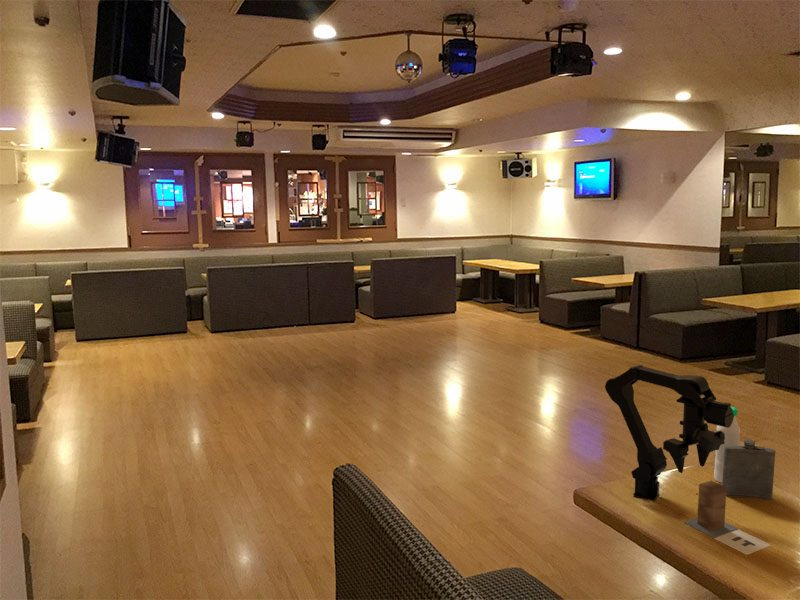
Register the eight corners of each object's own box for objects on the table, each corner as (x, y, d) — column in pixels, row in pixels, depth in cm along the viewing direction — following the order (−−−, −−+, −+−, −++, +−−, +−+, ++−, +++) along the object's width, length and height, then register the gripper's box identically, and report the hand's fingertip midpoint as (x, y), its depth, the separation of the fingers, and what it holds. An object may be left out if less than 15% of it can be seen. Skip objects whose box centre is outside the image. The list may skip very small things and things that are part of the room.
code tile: (713, 539, 183) (713, 537, 183) (737, 530, 188) (737, 528, 187) (746, 556, 174) (746, 554, 174) (771, 546, 179) (771, 544, 179)
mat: (683, 524, 192) (683, 522, 192) (707, 515, 196) (707, 513, 196) (714, 539, 183) (714, 537, 183) (738, 530, 187) (738, 528, 187)
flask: (720, 491, 212) (723, 437, 209) (769, 495, 208) (773, 440, 206) (722, 496, 209) (725, 441, 206) (773, 500, 205) (777, 444, 202)
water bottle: (740, 479, 220) (744, 407, 216) (733, 486, 215) (737, 412, 211) (717, 474, 225) (721, 403, 221) (710, 480, 220) (714, 408, 216)
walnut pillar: (697, 523, 191) (699, 484, 189) (709, 519, 193) (711, 480, 191) (712, 531, 186) (714, 490, 184) (724, 526, 188) (726, 487, 187)
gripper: (695, 433, 184) (692, 486, 187) (739, 421, 193) (736, 472, 195) (662, 421, 194) (660, 472, 196) (706, 410, 202) (703, 459, 205)
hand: (691, 469), depth 198 cm, fingers open, 9 cm apart
